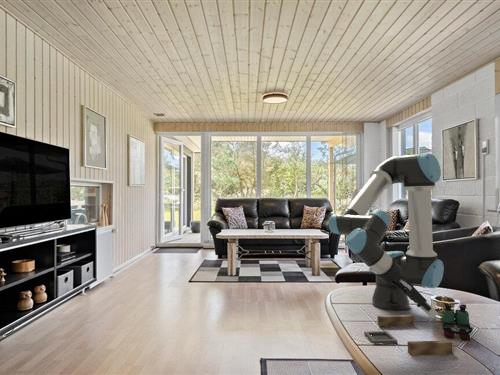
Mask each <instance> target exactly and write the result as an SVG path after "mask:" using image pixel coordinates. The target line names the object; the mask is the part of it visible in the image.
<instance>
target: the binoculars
mask: <svg viewBox="0 0 500 375" xmlns="http://www.w3.org/2000/svg"><path fill="white" fill-rule="evenodd" d="M444 307H445V308H442V314H441V315H442V317H441V327H442V330H443V337H445V338H446V339H449V340H454V339H455V335H458V337H459V340H460V341H464V342H468V341H470V340H471V335H470V334H472V332H473V330H474V328H473V327H472V326H471V324H470V313H469V311H467V310H466V309H467V304H460V305H459V306H458V307H459V309H457V308H456V309H453V308H452V305H451V304H450V303H448V302H444ZM455 326H456V329H459V330H453V329H455Z"/></svg>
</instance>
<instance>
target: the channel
mask: <svg viewBox="0 0 500 375" xmlns="http://www.w3.org/2000/svg"><path fill="white" fill-rule="evenodd" d="M376 318H377V326H378V325H379V326H385V327H414V326H415V316H414V315H413V314H395V315H390V314H389V315H387V314H385V315H377V316H376ZM379 326H378V327H379ZM453 351H454V350H453V342H452V341H450V340H422V341H421V340H420V341H419V340H417V341H416V340H415V341H414V340H413V341H407V354H408V353H409V354H410V355H409V354H408V355H409V356H434V354H437V355H438V354H439V355H438V356H441V354H442V355H443V354H444V355H453V354H454V353H453ZM437 355H436V356H437ZM444 355H443V356H444Z"/></svg>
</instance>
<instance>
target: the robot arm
mask: <svg viewBox="0 0 500 375" xmlns="http://www.w3.org/2000/svg"><path fill="white" fill-rule="evenodd" d="M441 173H442V172H441V166H440V163H439V160H438V159H437V157H436V156H435V155H434V154H433V153H430V152H429V153H422V152H421V153H413V154H412V153H411V154H404V155H394V156H392V157H389V158H387V159H386V160H384V161H382V162H381V163H380V164H378V165H377V166H376V167H375V168H374V169H373V170H372V171H371V173H370V175H369V179H368V180H367V181H366V182H365V183H364V184H363V186H362V188H361V189H360V190H358V193H356V195H355V196H354V197H353V198H352V200H351V201H350V202H349V203H348V204H347V205H346V206H345V208H344V209H343V211H342V212H340V213H336V214H335V213H334V214H331V216H330V217H329V218H328V229H329V231H330V232H331V233H332V234H334V235H335V234H336V235H340V236H347V237H346V238H345V240H344V241H345V246H346V247H347V248H348V249H349V250H350V251H351V252H352V254H354V255H355V256H356V257H357V258H358V259H359V260H360V261H361V262H363V264H365V265H366V266H367V267H368V270H369V272H373V274H375V289H374V292H373V295H372V298H371V302H372V303H373V304H374V305H375V307H376V306H377V307H376V308H379V309H383V310H389V311H404V310H408V309H410V300H411V301H413V302H414V304H416V307H418V308H420V309H421V310H422V311H423V312H424V313H425V314H426V315H427V316H429V318H431V319H435V318H436V317H437V316H438V314H439V312H438V311H437V310H436V309H435V308H434V307H433V306H432V305H431V304H430V303H429V302H428V300H427V298H425V297H424V296H423V294H421V293H420V292H419V290H418V289H417V288H415V287H421V288H423V289H425V288H426V289H436V288H437V287H439V285H440V284H441V282H442V280H443V276H444V271H445V270H444V269H445V267H444V262H443V261H442V260H441V259H438V254H437V252H435V251H434V247H433V246H434V242H433V240H434V239H433V217H432V216H433V214H432V190H433V189H434V188H435V187H436V183H437V182H439V181H440V180H441V175H442V174H441ZM394 184H403V189H405V190H406V191H407V202H408V203H407V205H408V206H407V208H408V209H407V212H408V235H409V236H408V240H409V245H408V246H409V249H408V250H407V251H406V252H404V251H401V250H400V251H399V250H395V251H392V250H391V251H385V250H384V249H383V248H382V247H381V245H380V243H381V242H382V240H383V238H384V237H385V235H386V233H387V232H388V230H389V228H390V225H391V222H392V219H391V217H390V215H389V213H387V212H386V211H384V210H381V209H374V210H372V211H371V213H369V211H370V210H371V208H372V207H373V206H374V204H375V203H376V202H377V201H378V199H379V198H380V196H381V195H382V194H383V193H384V191H385V190H388V189H389V188H390V187H391V186H393V185H394ZM367 213H369V215H367ZM373 304H372V305H373ZM374 305H373V306H374Z"/></svg>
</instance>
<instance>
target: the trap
mask: <svg viewBox="0 0 500 375" xmlns="http://www.w3.org/2000/svg"><path fill="white" fill-rule="evenodd" d="M363 334H365V335H366V336H367V337H368V338H367V337H366V336H365V335H364V336H365V337H366V338H367V339H368V341H370V343H371V344H372V343H397V344H398V340H397V339H396V338H395V337H394V336H393V335H392V334H391V333H390V332H389V331H388V330H383V331H381V330H379V331H378V330H377V331H374V330H372V331H364V332H363ZM371 335H372V336H371Z"/></svg>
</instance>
